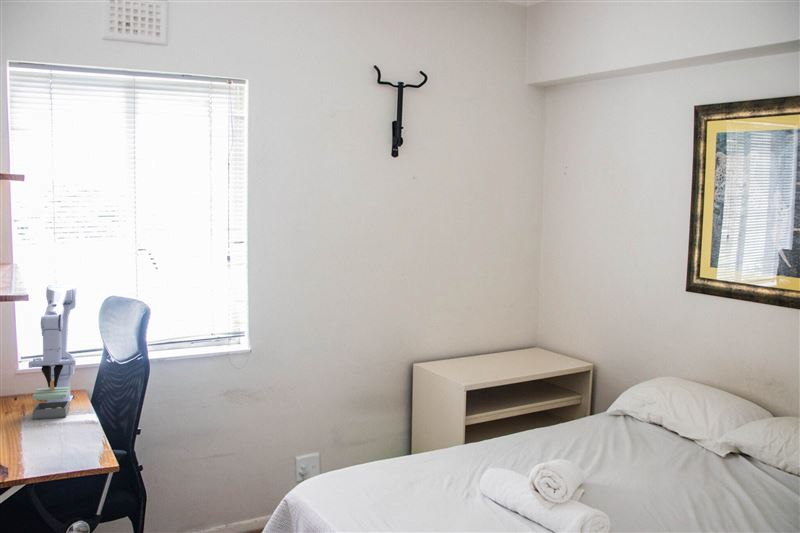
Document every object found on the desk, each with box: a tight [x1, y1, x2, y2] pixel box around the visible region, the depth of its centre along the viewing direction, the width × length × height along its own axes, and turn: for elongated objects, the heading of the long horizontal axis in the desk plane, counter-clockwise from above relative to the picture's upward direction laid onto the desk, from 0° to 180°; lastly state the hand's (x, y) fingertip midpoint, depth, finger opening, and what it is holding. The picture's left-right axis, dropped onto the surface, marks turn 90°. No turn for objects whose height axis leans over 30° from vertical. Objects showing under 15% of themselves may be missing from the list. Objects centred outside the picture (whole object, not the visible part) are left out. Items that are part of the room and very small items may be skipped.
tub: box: [32, 401, 71, 421], centre depth 229 cm, size 10×10×3 cm
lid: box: [31, 379, 71, 401], centre depth 229 cm, size 10×10×5 cm
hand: (52, 386), depth 232 cm, fingers closed on lid
